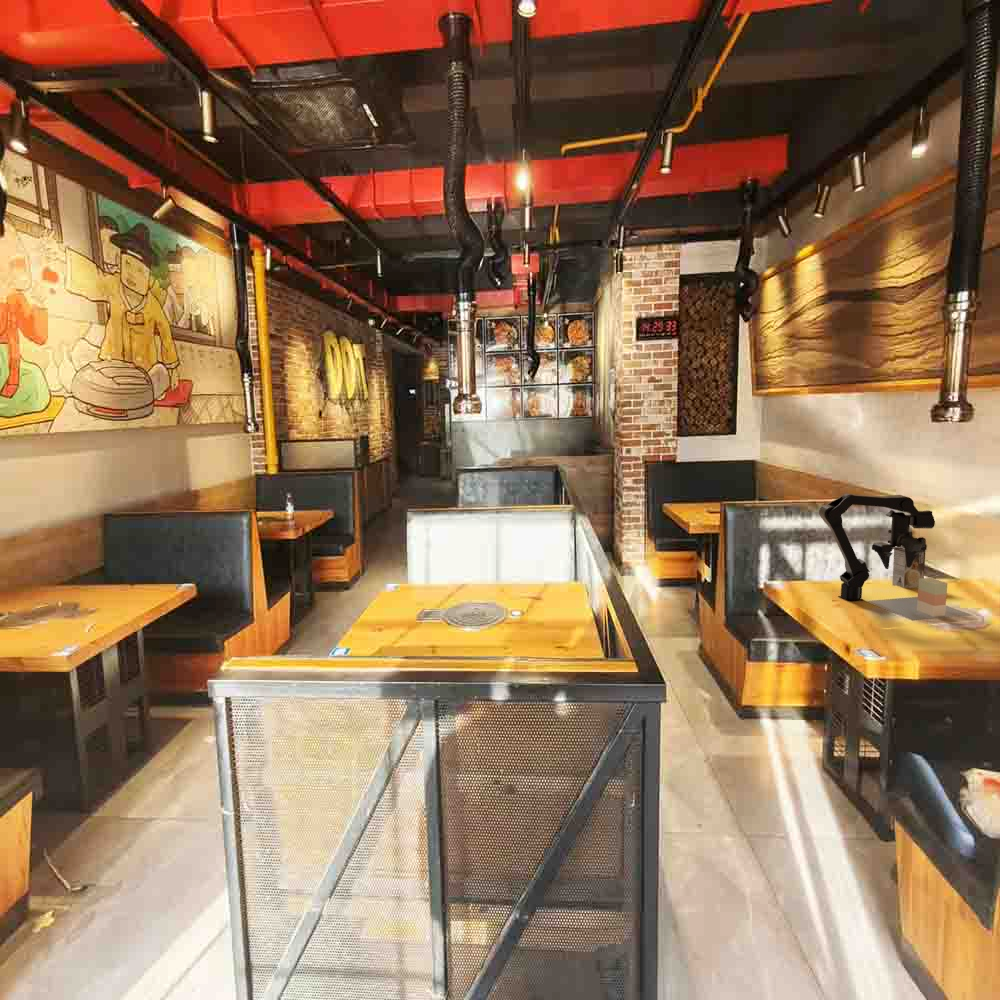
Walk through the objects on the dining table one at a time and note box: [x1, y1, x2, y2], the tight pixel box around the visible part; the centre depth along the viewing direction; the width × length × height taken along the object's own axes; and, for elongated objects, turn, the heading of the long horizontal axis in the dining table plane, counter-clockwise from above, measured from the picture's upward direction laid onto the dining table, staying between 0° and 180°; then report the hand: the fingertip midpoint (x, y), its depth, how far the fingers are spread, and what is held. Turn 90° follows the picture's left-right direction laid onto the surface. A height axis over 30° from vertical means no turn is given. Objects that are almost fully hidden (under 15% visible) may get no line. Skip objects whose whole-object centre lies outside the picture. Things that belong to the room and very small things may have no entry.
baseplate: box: [865, 596, 973, 621], centre depth 216 cm, size 24×22×4 cm
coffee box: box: [891, 548, 926, 589], centre depth 242 cm, size 9×6×16 cm
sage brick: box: [917, 577, 949, 595], centre depth 208 cm, size 7×5×4 cm, turn 7°
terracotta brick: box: [917, 588, 948, 606], centre depth 209 cm, size 7×5×4 cm, turn 8°
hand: (897, 568), depth 224 cm, fingers open, 9 cm apart
